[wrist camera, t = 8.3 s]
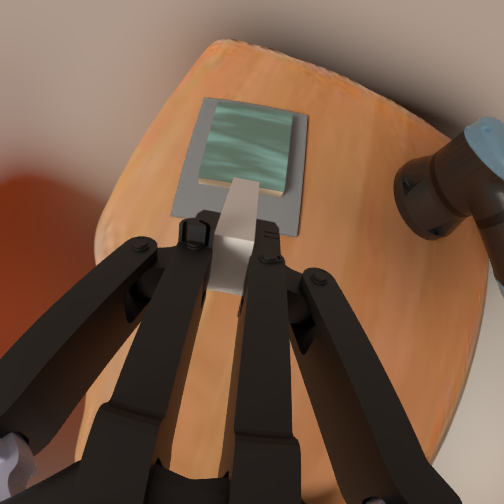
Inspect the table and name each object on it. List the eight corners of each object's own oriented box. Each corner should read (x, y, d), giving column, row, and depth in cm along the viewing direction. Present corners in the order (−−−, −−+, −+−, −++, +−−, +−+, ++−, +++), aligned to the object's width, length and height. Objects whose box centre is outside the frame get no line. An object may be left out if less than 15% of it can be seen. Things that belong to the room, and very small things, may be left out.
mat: (204, 99, 43) (204, 97, 43) (306, 117, 45) (307, 115, 44) (171, 216, 39) (170, 215, 38) (295, 237, 40) (297, 236, 40)
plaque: (198, 183, 40) (218, 110, 42) (280, 197, 41) (289, 122, 43) (197, 176, 37) (218, 101, 40) (284, 191, 38) (292, 114, 41)
